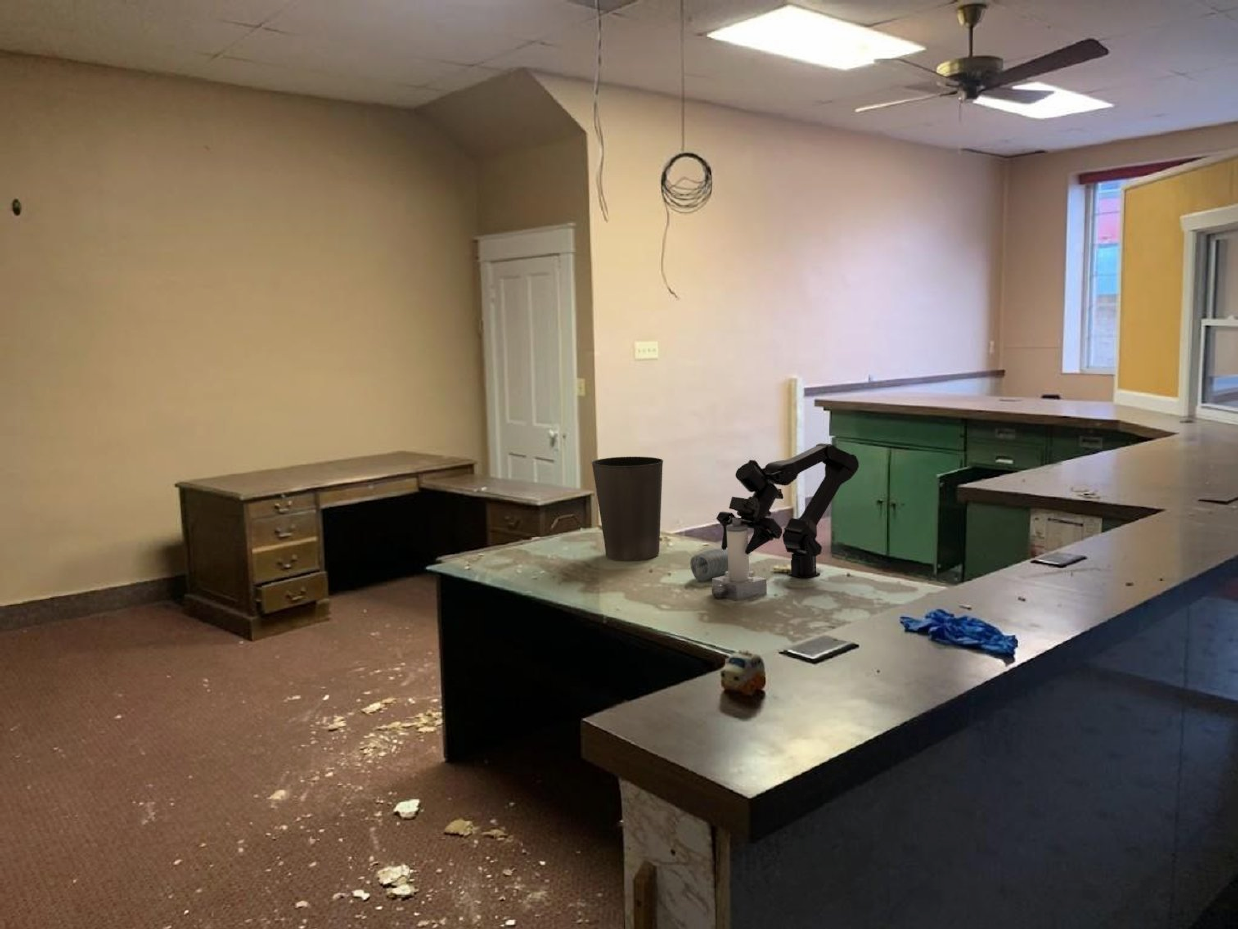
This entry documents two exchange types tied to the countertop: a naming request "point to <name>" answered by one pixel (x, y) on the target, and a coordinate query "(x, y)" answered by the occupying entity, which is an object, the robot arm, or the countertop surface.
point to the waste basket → (629, 505)
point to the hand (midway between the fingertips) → (734, 551)
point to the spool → (709, 564)
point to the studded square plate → (739, 587)
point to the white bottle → (737, 550)
